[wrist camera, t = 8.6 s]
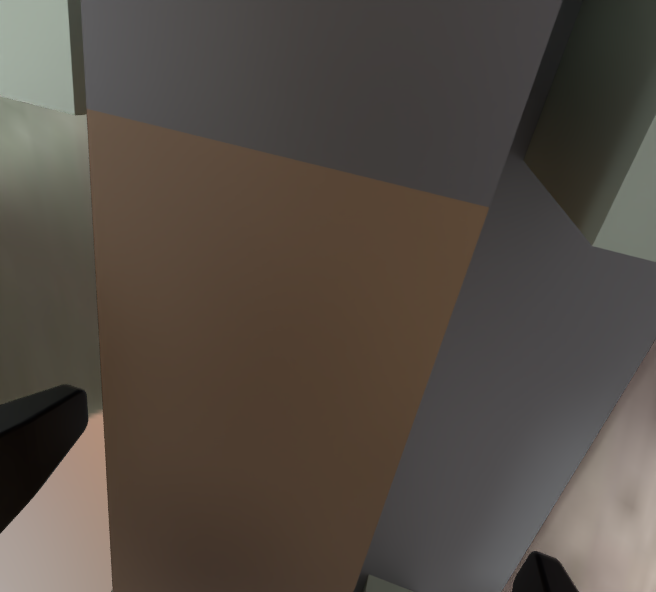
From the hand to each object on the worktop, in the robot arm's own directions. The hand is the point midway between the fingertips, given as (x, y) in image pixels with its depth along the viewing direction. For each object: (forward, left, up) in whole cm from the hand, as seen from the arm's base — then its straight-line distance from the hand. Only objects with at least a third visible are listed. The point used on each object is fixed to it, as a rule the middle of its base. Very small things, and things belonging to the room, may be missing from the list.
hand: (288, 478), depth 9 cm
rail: (0, 0, -3) cm, 3 cm away
